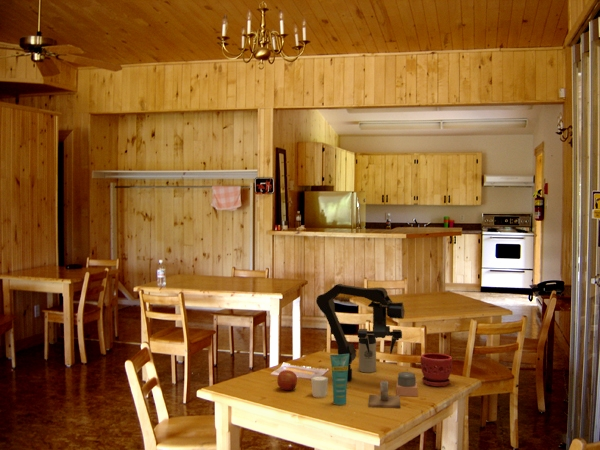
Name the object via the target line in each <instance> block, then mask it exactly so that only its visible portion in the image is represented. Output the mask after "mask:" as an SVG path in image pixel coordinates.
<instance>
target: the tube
mask: <svg viewBox="0 0 600 450" xmlns="http://www.w3.org/2000/svg"><path fill="white" fill-rule="evenodd" d="M329 358H330V364H331V376H332V377H331V378H332V398H333V401H332V402H333V404H334V405H335V406H336V405H338V406H343V405H344V406H345V405H346V404H347V395H348V393H347V388H348V381H347V375H348V362H349V354H341V355H338V354H330V357H329Z"/></svg>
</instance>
